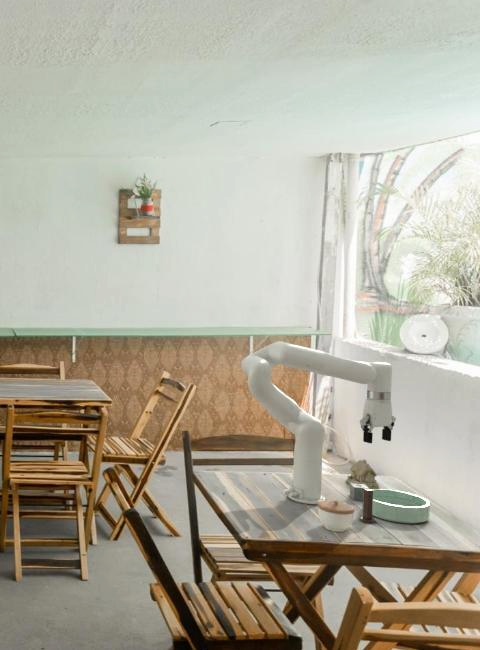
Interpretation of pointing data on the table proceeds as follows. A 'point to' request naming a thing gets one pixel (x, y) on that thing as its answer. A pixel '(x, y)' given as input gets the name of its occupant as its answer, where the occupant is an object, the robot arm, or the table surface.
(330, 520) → the trinket box
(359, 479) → the ceramic model
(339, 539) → the table surface
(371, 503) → the muddler
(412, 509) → the bowl
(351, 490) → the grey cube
